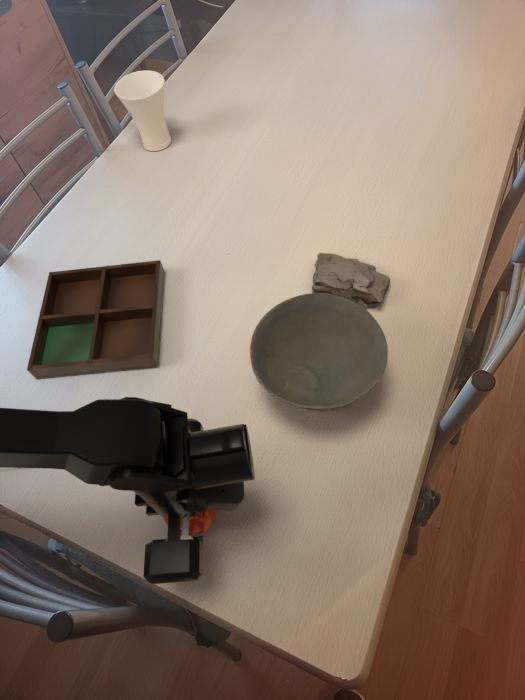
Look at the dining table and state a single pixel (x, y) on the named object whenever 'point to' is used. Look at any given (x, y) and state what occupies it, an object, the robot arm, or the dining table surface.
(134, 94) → the cup
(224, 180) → the dining table surface
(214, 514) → the red round fruit
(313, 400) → the bowl
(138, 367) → the four compartment tray
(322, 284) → the rock
